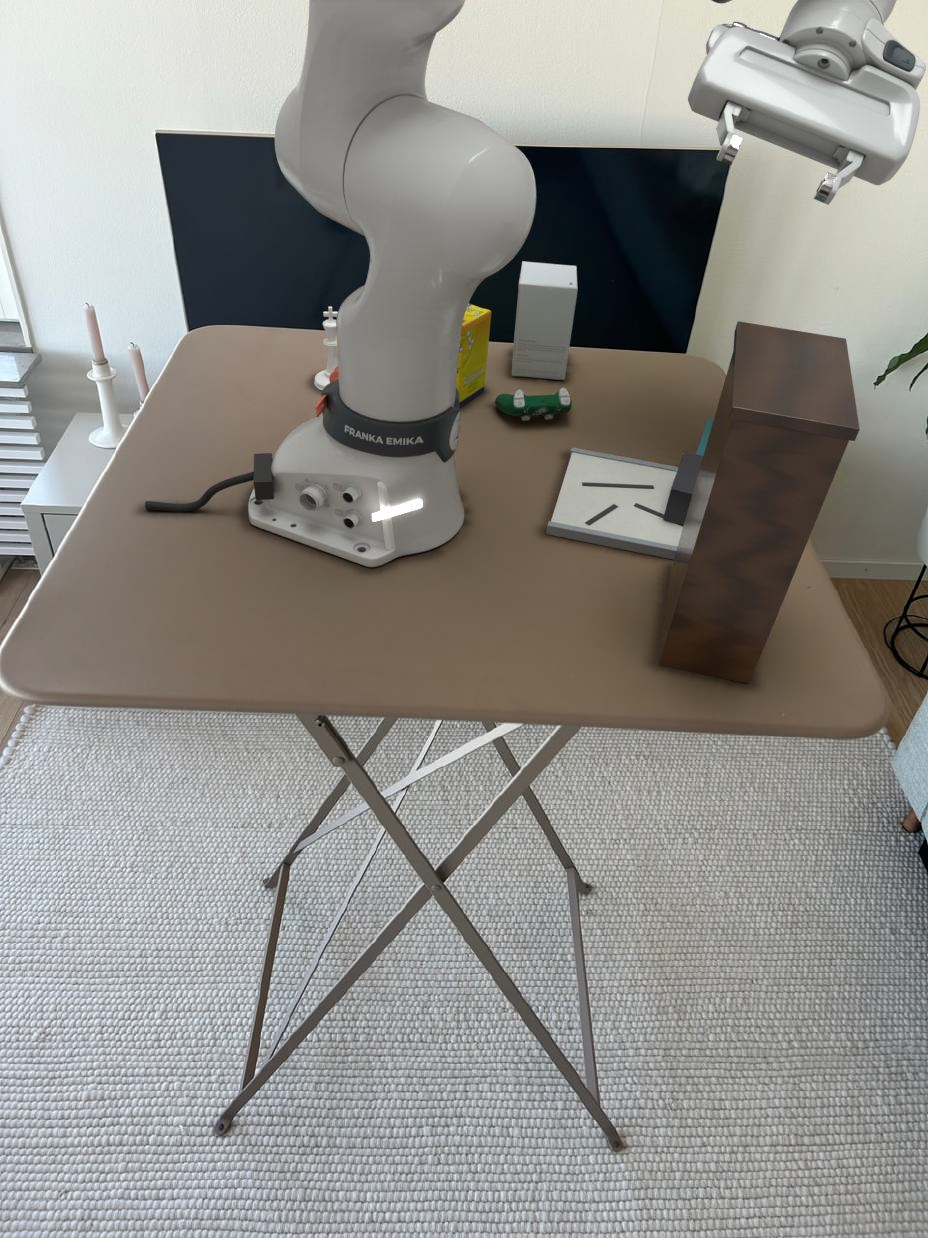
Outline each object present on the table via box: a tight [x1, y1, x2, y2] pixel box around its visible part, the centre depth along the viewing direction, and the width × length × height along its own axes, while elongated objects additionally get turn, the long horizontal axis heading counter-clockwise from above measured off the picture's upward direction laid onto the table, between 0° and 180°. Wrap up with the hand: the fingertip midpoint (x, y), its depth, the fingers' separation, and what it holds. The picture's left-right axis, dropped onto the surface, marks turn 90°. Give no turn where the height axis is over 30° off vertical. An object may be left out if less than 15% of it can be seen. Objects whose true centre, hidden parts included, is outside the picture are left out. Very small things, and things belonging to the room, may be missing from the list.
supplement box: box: [456, 302, 492, 408], centre depth 109 cm, size 6×6×11 cm
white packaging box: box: [511, 260, 579, 381], centre depth 115 cm, size 7×7×13 cm
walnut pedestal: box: [658, 320, 861, 685], centre depth 75 cm, size 9×15×26 cm, turn 166°
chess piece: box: [313, 306, 338, 391], centre depth 109 cm, size 5×5×10 cm
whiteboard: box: [545, 447, 684, 561], centre depth 96 cm, size 18×16×1 cm
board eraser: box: [663, 417, 714, 525], centre depth 98 cm, size 5×19×4 cm, turn 160°
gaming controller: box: [494, 387, 573, 422], centre depth 108 cm, size 9×4×6 cm
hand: (774, 177), depth 79 cm, fingers open, 8 cm apart
